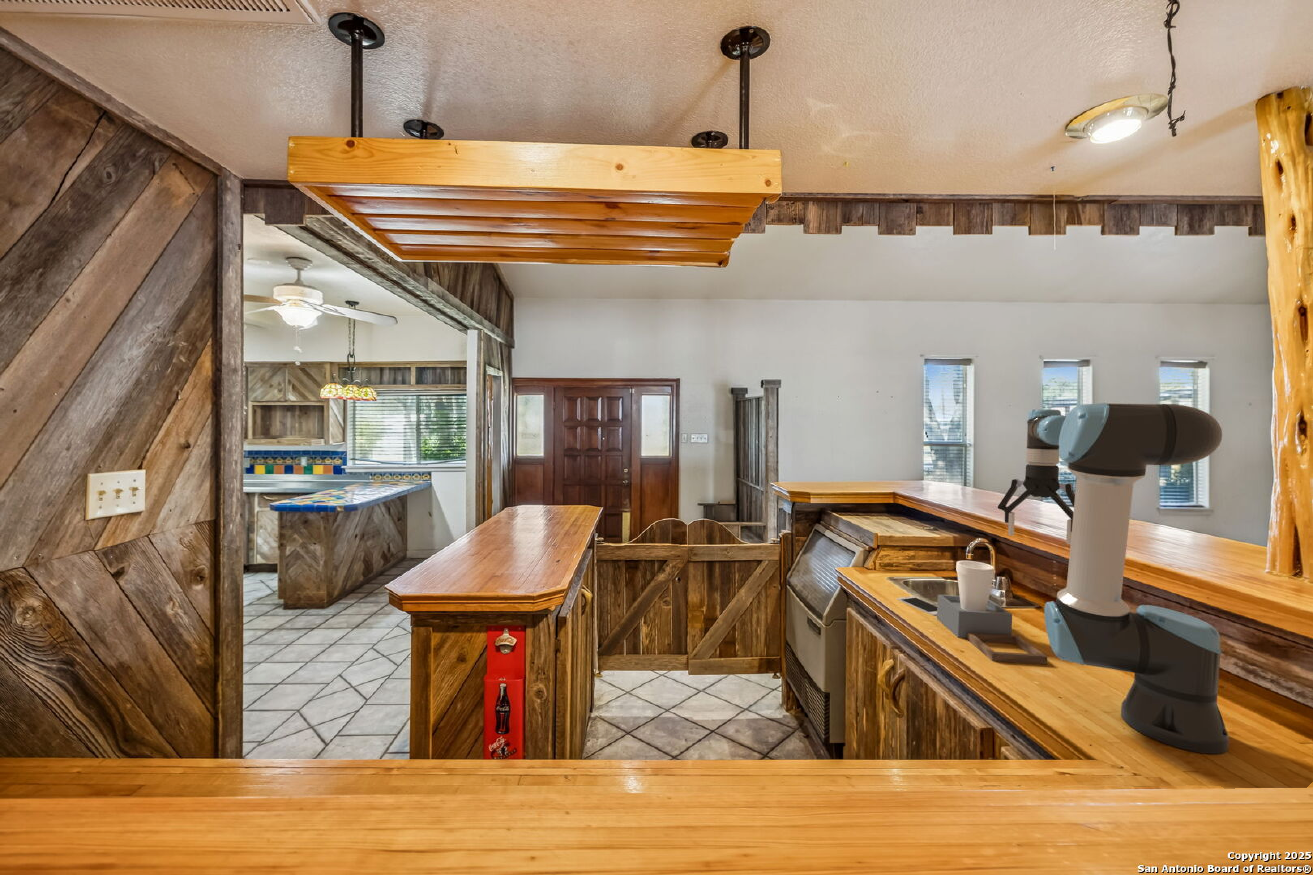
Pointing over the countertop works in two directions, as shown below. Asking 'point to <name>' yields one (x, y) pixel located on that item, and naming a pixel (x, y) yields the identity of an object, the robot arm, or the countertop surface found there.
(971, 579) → the foam cup
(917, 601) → the smartphone
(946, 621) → the charcoal stand
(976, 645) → the walnut collar
